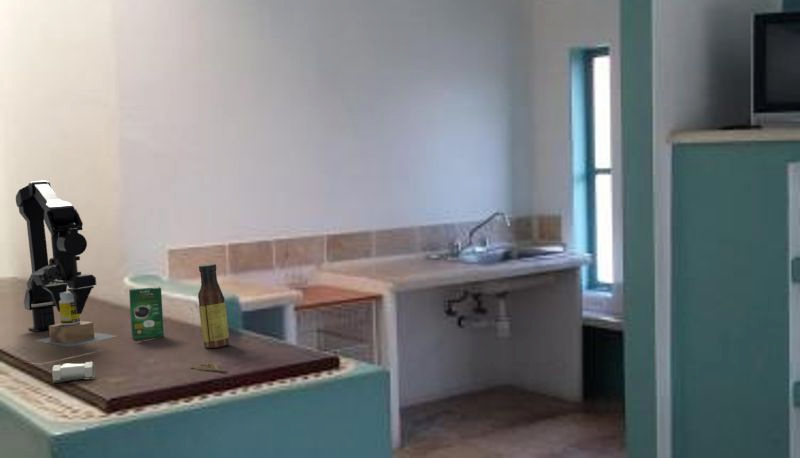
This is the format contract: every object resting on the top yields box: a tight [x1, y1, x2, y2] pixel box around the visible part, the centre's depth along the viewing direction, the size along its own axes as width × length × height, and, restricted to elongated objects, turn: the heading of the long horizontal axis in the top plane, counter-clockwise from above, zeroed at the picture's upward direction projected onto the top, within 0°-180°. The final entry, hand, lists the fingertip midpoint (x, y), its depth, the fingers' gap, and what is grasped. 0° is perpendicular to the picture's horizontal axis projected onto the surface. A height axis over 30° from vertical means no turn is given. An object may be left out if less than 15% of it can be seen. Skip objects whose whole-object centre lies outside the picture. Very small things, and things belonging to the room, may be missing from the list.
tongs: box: [190, 362, 229, 374], centre depth 197 cm, size 4×13×2 cm, turn 46°
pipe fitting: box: [51, 361, 96, 384], centre depth 196 cm, size 8×4×7 cm
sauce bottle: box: [197, 263, 230, 349], centre depth 221 cm, size 6×6×20 cm
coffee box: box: [128, 286, 165, 340], centre depth 237 cm, size 8×3×13 cm, turn 110°
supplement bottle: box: [59, 290, 81, 325], centre depth 240 cm, size 5×5×8 cm
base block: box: [48, 320, 95, 343], centre depth 240 cm, size 8×8×4 cm
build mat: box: [33, 332, 118, 348], centre depth 241 cm, size 18×14×1 cm
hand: (69, 312), depth 240 cm, fingers open, 9 cm apart
